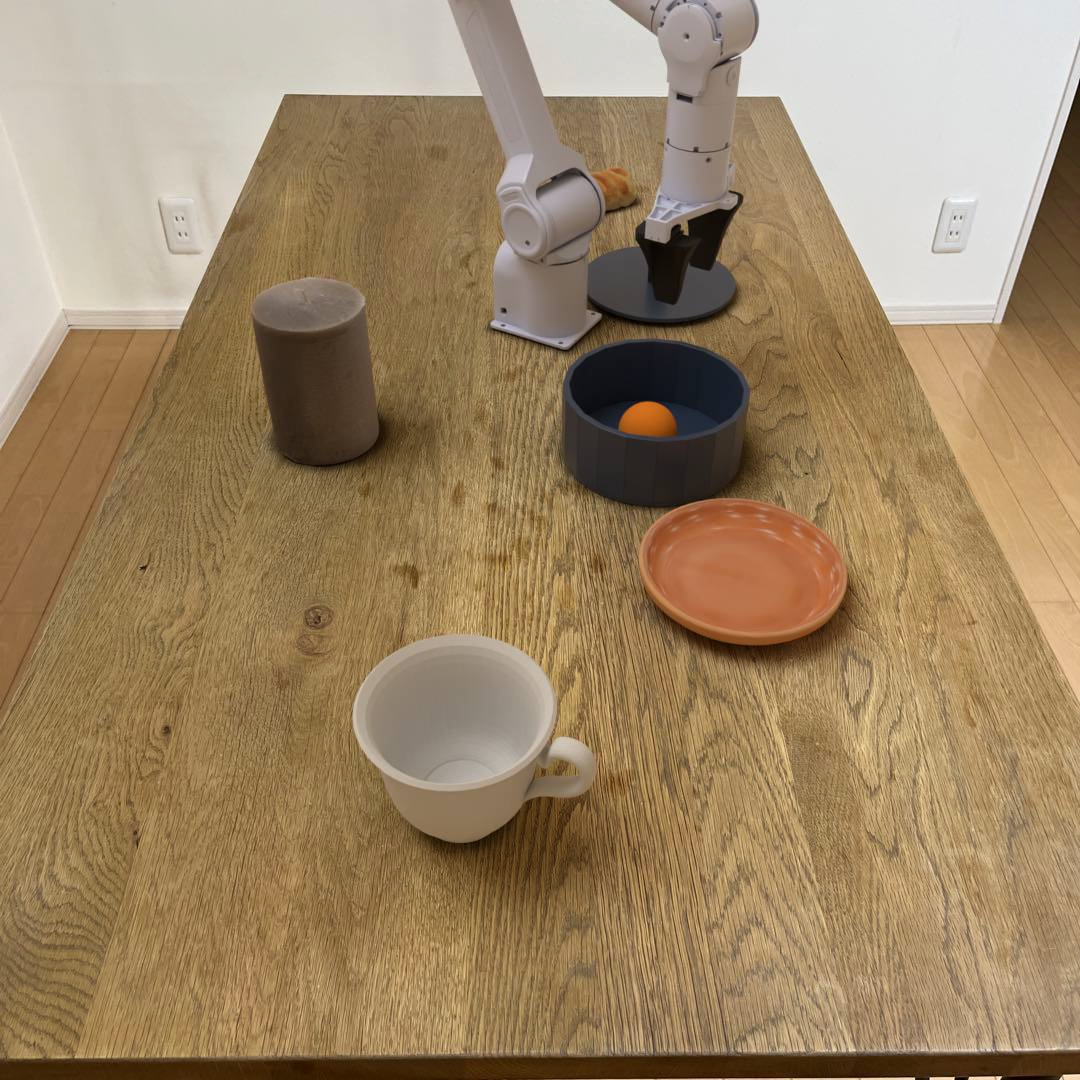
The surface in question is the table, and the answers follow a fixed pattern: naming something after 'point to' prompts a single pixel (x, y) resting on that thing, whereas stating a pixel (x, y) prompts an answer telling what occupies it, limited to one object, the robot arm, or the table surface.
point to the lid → (629, 293)
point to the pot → (644, 461)
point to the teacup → (464, 734)
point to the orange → (648, 420)
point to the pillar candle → (316, 369)
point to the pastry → (616, 187)
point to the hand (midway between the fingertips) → (683, 283)
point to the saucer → (742, 571)
